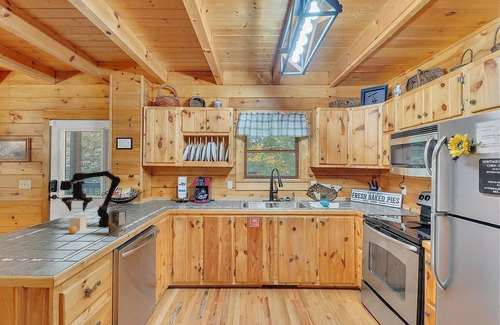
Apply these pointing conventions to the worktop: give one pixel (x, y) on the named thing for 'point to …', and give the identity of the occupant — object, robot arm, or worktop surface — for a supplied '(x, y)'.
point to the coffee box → (117, 222)
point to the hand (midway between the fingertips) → (77, 211)
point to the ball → (73, 229)
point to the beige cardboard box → (78, 222)
